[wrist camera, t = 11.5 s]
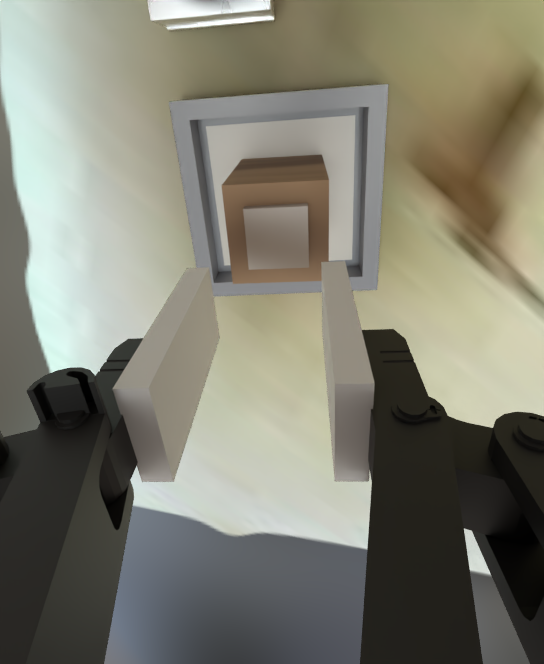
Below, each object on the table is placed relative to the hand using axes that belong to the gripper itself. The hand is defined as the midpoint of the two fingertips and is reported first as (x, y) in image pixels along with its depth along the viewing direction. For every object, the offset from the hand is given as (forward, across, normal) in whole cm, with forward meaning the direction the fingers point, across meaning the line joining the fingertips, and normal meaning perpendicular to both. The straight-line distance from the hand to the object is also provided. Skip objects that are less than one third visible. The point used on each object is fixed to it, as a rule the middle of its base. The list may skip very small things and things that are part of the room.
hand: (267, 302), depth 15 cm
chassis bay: (+17, 0, 0) cm, 17 cm away
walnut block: (+16, 0, 0) cm, 16 cm away
